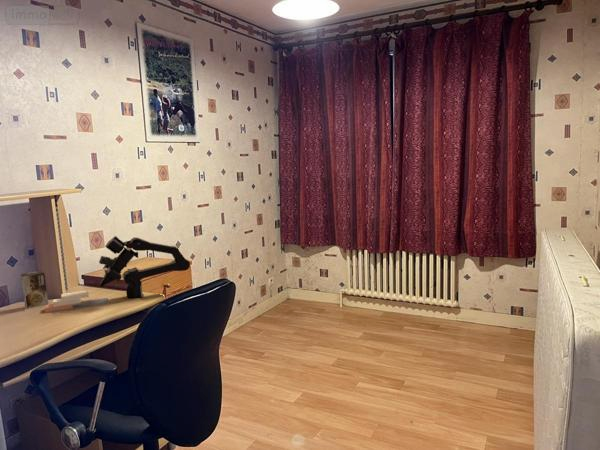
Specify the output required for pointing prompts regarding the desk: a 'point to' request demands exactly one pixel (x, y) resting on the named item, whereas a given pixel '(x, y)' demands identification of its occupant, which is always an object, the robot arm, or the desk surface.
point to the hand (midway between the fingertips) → (100, 285)
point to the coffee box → (34, 289)
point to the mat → (86, 304)
